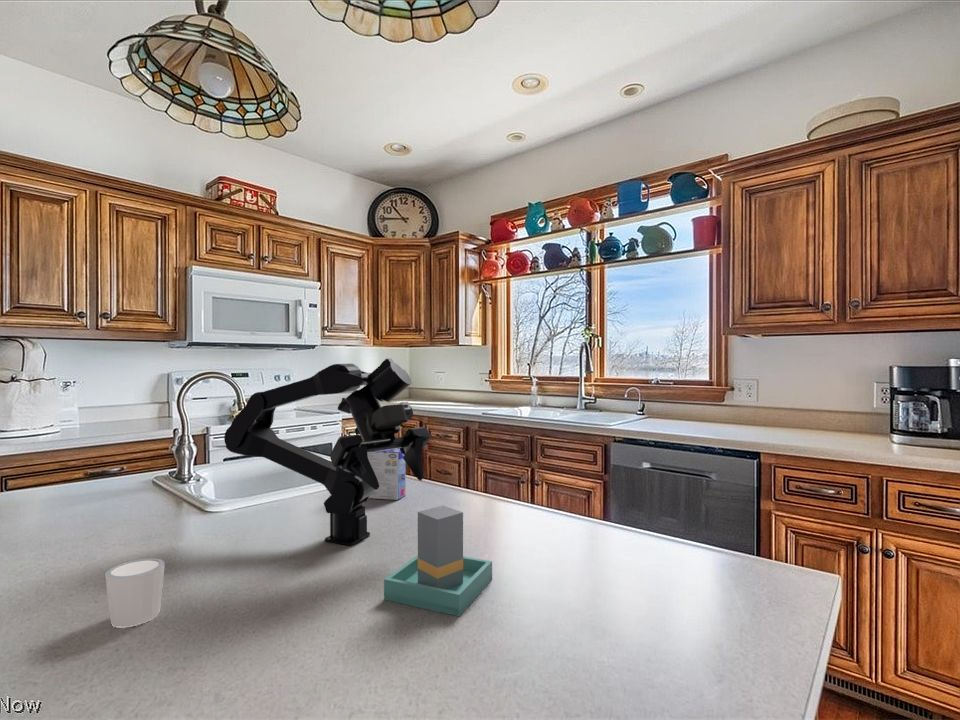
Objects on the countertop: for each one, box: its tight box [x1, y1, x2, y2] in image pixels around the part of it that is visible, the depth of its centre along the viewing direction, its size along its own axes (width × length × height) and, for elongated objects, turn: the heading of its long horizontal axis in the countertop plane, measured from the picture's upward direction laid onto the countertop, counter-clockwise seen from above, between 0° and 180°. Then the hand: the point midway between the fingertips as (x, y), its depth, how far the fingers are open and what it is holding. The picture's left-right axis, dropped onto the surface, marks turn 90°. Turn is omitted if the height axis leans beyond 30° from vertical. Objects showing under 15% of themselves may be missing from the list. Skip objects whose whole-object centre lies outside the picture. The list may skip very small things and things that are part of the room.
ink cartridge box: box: [367, 448, 407, 501], centre depth 129 cm, size 10×6×14 cm, turn 78°
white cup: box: [104, 558, 166, 627], centre depth 69 cm, size 7×7×7 cm
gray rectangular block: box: [417, 504, 464, 590], centre depth 77 cm, size 5×5×11 cm
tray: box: [383, 554, 493, 617], centre depth 78 cm, size 12×12×3 cm
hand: (400, 483), depth 89 cm, fingers open, 9 cm apart
